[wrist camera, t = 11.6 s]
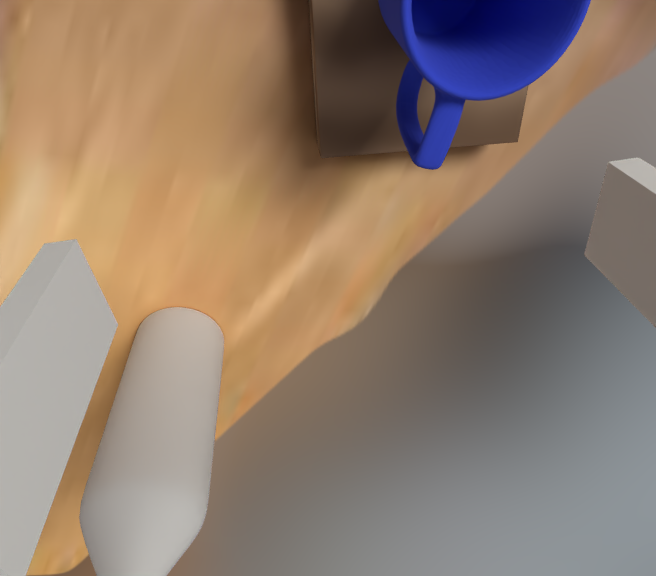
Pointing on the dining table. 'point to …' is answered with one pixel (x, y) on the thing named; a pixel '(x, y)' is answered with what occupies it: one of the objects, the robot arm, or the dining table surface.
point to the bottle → (156, 448)
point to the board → (382, 87)
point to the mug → (471, 57)
